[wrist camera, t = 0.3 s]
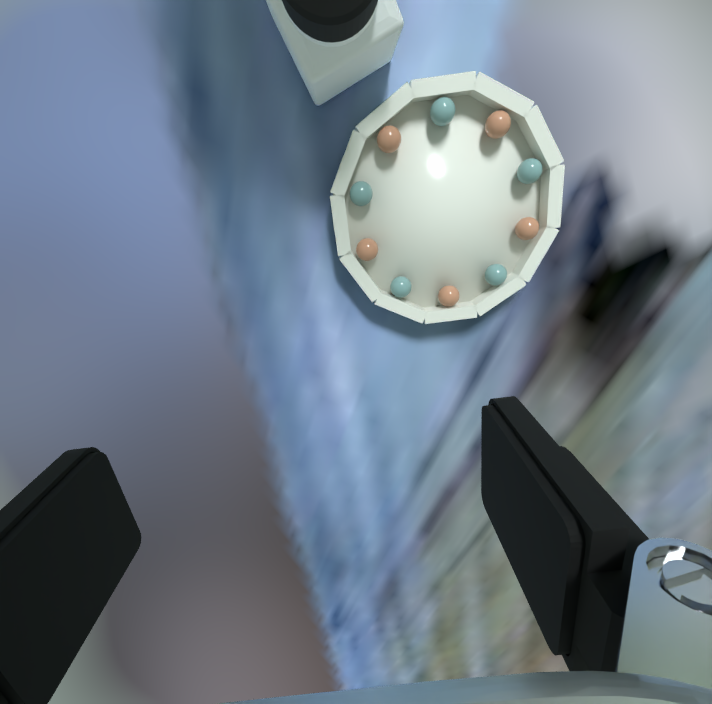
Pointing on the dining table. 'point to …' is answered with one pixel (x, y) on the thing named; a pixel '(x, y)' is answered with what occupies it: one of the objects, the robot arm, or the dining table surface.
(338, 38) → the medicine bottle
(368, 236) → the tray
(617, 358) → the dining table surface
